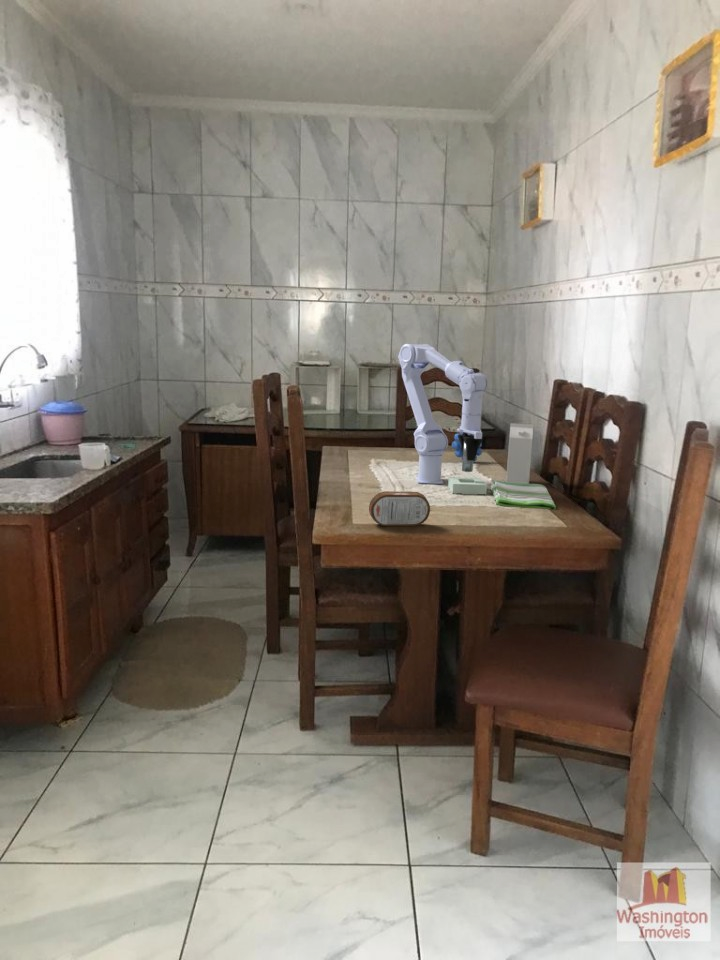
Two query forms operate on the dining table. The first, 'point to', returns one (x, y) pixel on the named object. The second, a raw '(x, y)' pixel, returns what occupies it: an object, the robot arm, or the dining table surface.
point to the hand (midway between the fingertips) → (468, 459)
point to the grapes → (458, 448)
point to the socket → (467, 485)
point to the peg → (466, 461)
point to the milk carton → (519, 453)
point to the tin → (399, 508)
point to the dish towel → (521, 495)
